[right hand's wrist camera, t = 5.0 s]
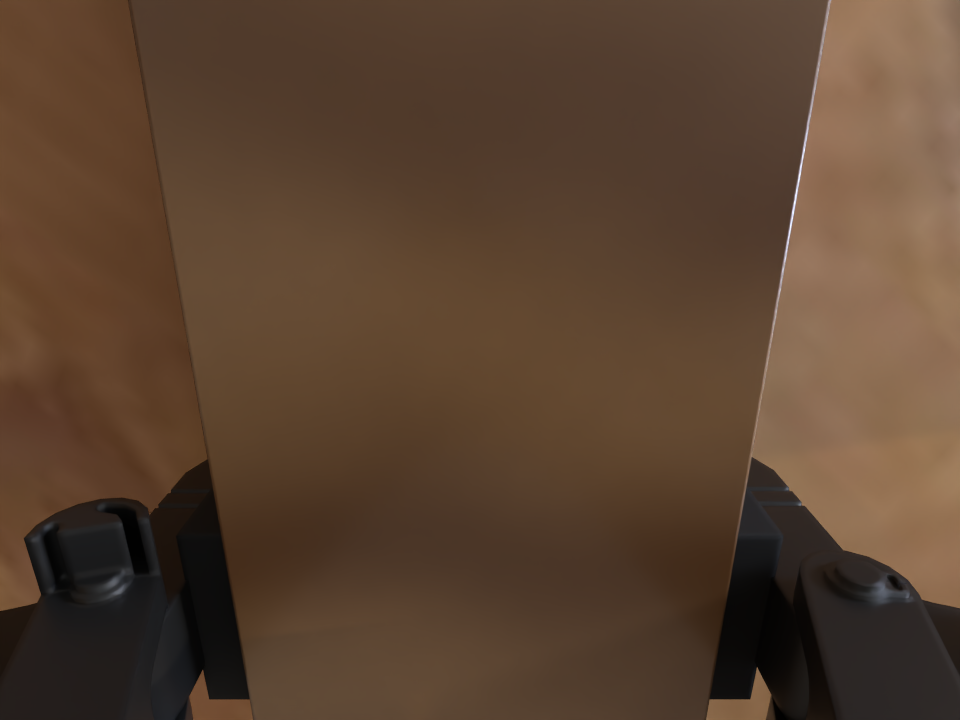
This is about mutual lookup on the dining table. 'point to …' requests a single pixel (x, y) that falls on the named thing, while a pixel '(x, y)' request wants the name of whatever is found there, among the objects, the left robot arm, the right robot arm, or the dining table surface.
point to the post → (479, 333)
